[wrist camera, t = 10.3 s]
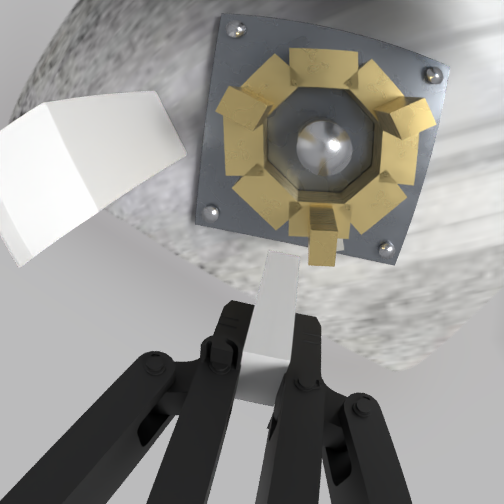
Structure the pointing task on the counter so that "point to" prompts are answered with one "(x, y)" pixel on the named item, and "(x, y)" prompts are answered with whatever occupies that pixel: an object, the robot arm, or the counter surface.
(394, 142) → the gold foil sensor mount
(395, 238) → the flange plate
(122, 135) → the milk carton
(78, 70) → the counter surface
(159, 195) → the counter surface
